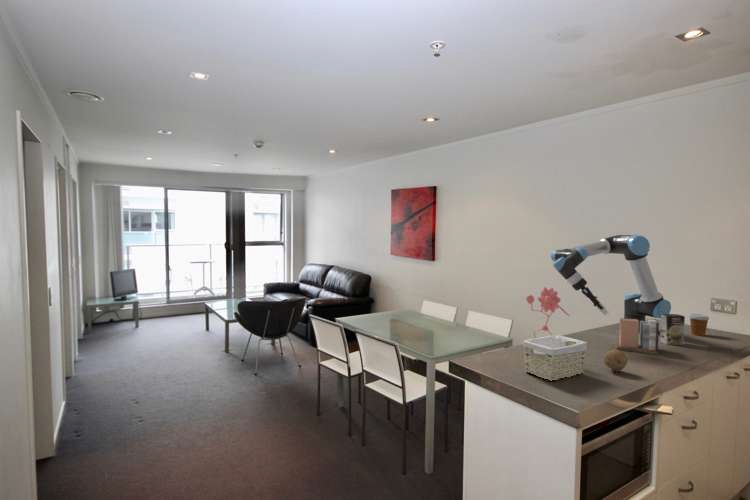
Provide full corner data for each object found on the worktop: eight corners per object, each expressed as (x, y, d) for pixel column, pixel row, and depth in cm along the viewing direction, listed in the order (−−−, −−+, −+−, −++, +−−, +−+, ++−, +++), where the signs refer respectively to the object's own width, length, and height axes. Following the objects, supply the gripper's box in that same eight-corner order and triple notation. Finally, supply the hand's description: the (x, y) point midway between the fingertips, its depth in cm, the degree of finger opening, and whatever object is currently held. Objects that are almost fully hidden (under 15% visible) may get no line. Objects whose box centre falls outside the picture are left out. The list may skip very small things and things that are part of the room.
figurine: (560, 366, 189) (562, 291, 188) (518, 352, 212) (519, 285, 211) (582, 362, 196) (584, 289, 194) (539, 348, 219) (540, 283, 218)
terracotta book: (619, 343, 223) (619, 318, 222) (636, 345, 220) (637, 319, 219) (620, 345, 218) (621, 320, 218) (638, 347, 215) (638, 321, 215)
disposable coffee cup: (685, 333, 250) (685, 314, 249) (694, 332, 254) (694, 313, 253) (702, 337, 241) (703, 317, 241) (711, 335, 245) (712, 315, 245)
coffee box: (666, 344, 226) (667, 315, 225) (659, 341, 233) (660, 313, 232) (684, 345, 225) (685, 316, 225) (676, 342, 232) (677, 313, 231)
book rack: (614, 344, 227) (614, 314, 226) (652, 347, 220) (653, 317, 219) (617, 350, 216) (618, 319, 215) (657, 354, 209) (658, 322, 208)
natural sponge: (621, 376, 176) (621, 354, 176) (599, 371, 183) (600, 349, 183) (630, 372, 182) (630, 350, 181) (609, 367, 189) (609, 345, 188)
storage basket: (556, 364, 193) (557, 333, 192) (588, 374, 179) (589, 341, 178) (520, 372, 182) (521, 340, 181) (551, 384, 168) (552, 349, 167)
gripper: (569, 282, 241) (596, 311, 236) (572, 288, 218) (601, 320, 213) (580, 274, 238) (607, 303, 234) (584, 279, 215) (614, 311, 211)
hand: (604, 311), depth 224 cm, fingers open, 13 cm apart
